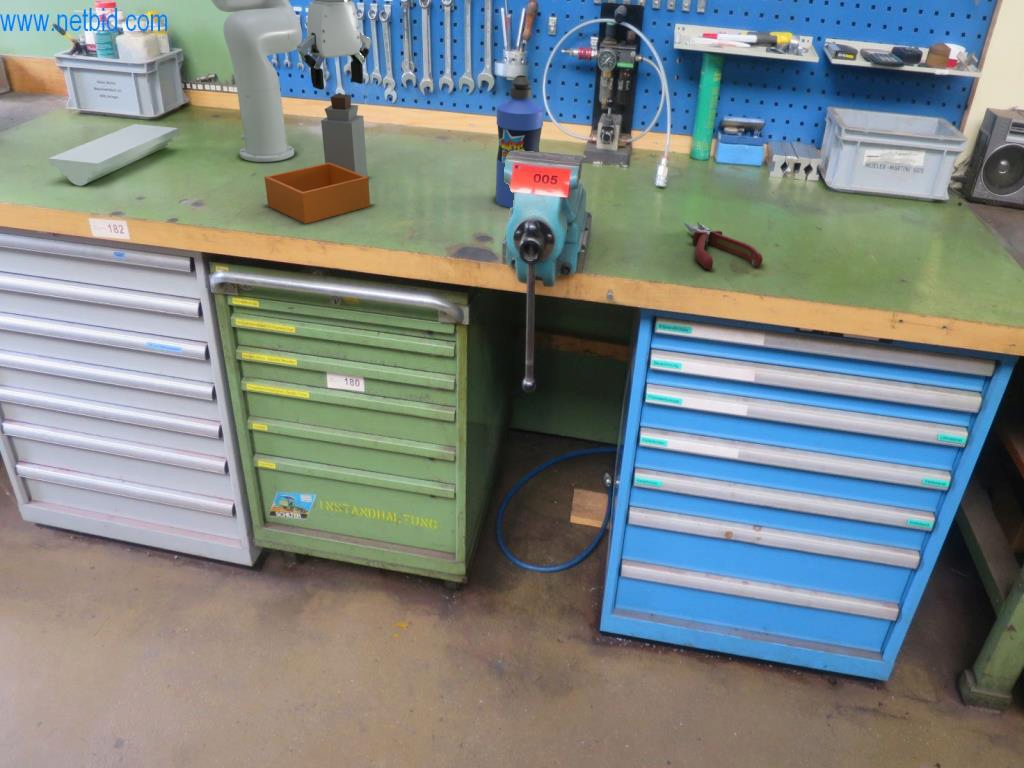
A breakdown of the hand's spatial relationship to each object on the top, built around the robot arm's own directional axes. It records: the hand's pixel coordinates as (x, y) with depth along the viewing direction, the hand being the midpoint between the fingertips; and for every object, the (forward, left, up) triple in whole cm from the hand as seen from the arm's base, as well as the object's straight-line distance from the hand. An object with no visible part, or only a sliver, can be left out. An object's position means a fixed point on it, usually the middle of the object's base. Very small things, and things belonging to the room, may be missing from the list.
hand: (338, 85), depth 164 cm
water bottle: (+34, +19, -20) cm, 44 cm away
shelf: (-41, -32, -20) cm, 55 cm away
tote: (+10, -14, -20) cm, 27 cm away
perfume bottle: (+1, 0, -20) cm, 20 cm away
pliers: (+78, +28, -20) cm, 86 cm away
